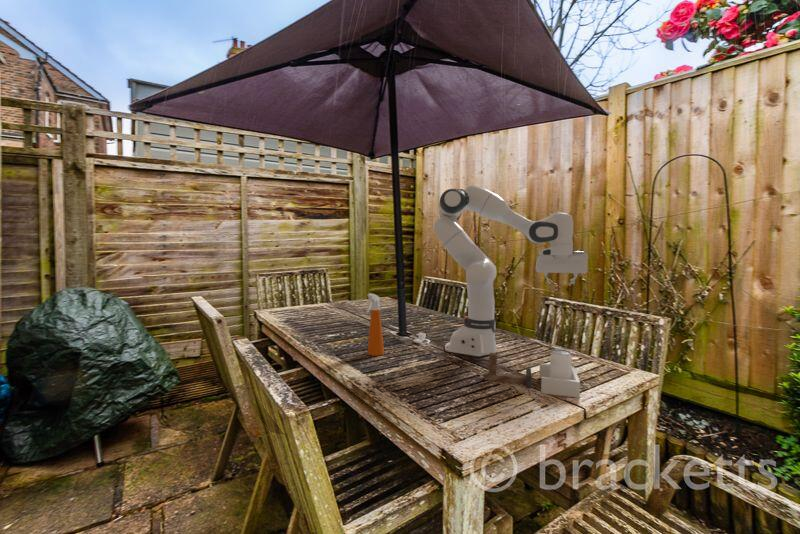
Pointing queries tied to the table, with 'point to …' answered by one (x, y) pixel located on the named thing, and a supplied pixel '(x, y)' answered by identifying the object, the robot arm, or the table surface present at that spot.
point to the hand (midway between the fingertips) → (560, 283)
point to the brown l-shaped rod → (501, 377)
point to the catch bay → (559, 383)
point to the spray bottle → (375, 327)
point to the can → (560, 364)
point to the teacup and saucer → (421, 338)
